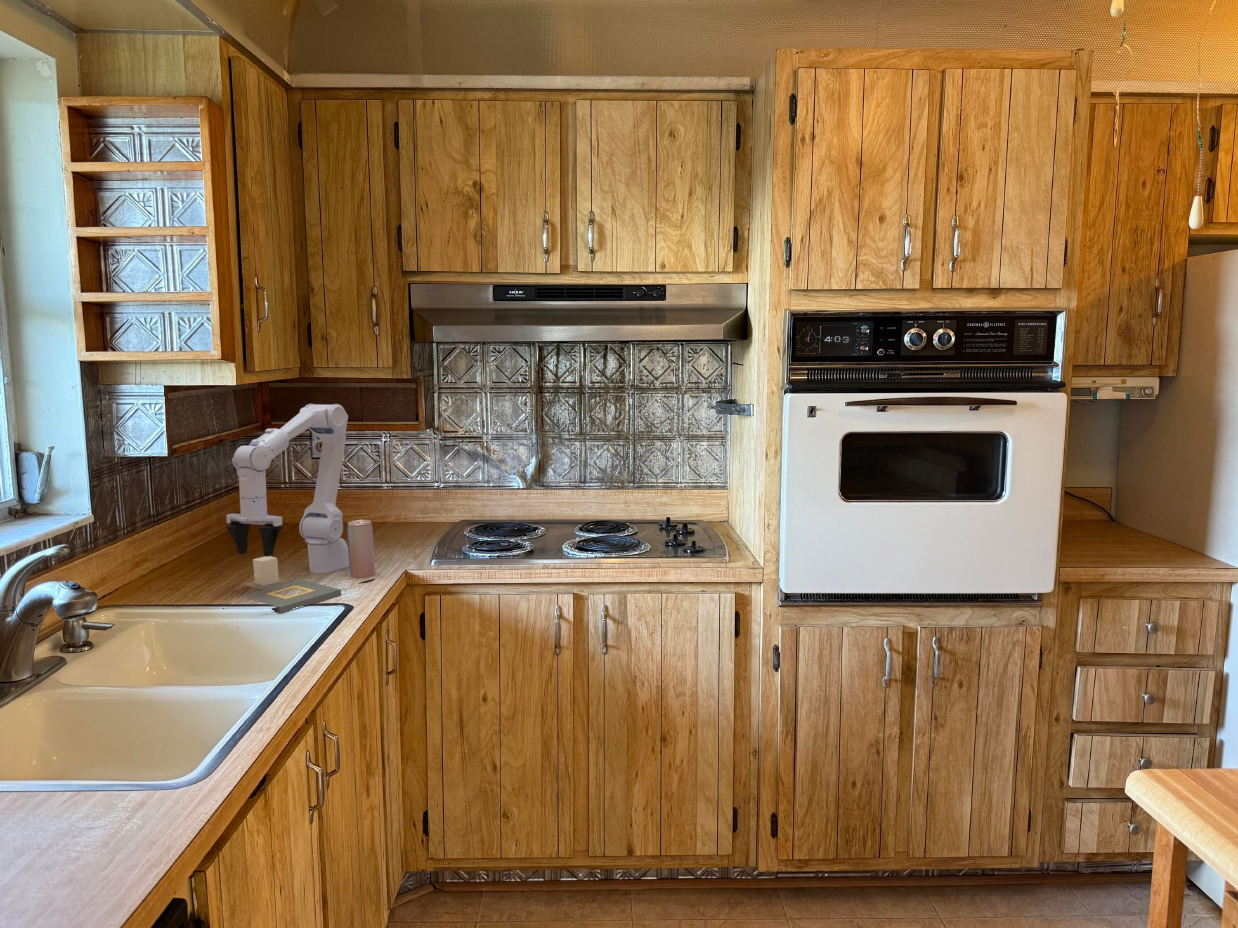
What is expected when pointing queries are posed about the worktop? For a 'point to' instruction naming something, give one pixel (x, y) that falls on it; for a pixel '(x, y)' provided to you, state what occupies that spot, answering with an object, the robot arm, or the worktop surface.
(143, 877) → the worktop surface
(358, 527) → the beverage can
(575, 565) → the worktop surface
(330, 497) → the robot arm
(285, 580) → the tab
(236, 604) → the worktop surface
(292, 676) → the worktop surface
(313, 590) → the hole board
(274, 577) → the peg
